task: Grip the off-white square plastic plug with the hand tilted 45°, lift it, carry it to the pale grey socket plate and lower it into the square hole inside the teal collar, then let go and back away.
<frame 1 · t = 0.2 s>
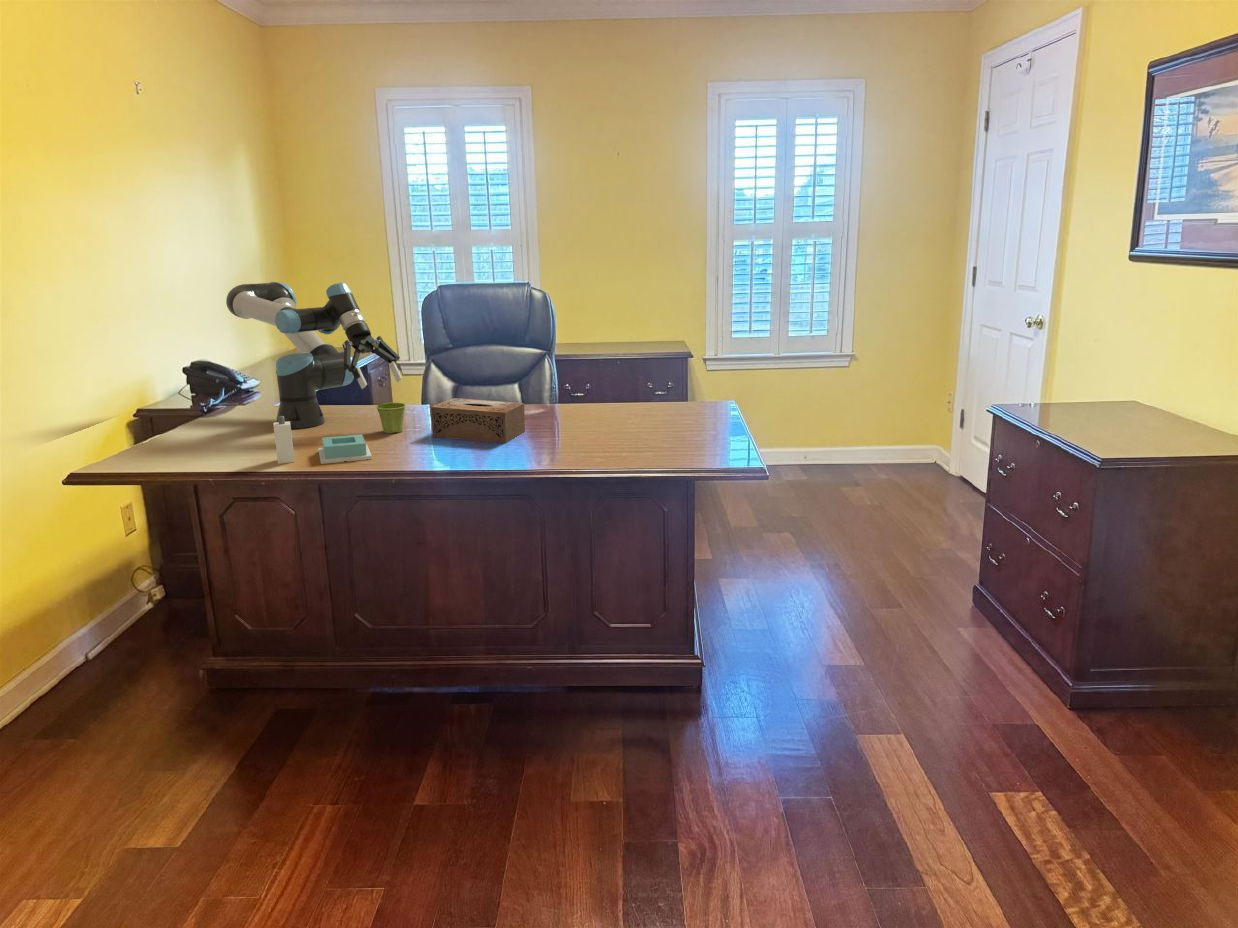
hand: (382, 383, 270), 15 cm above the table, tool tilted 35°, fingers open, 13 cm apart
socket: (344, 455, 243), on the table
plant pot: (393, 432, 271), on the table
plug: (286, 460, 237), on the table
tissue box cover: (479, 435, 268), on the table
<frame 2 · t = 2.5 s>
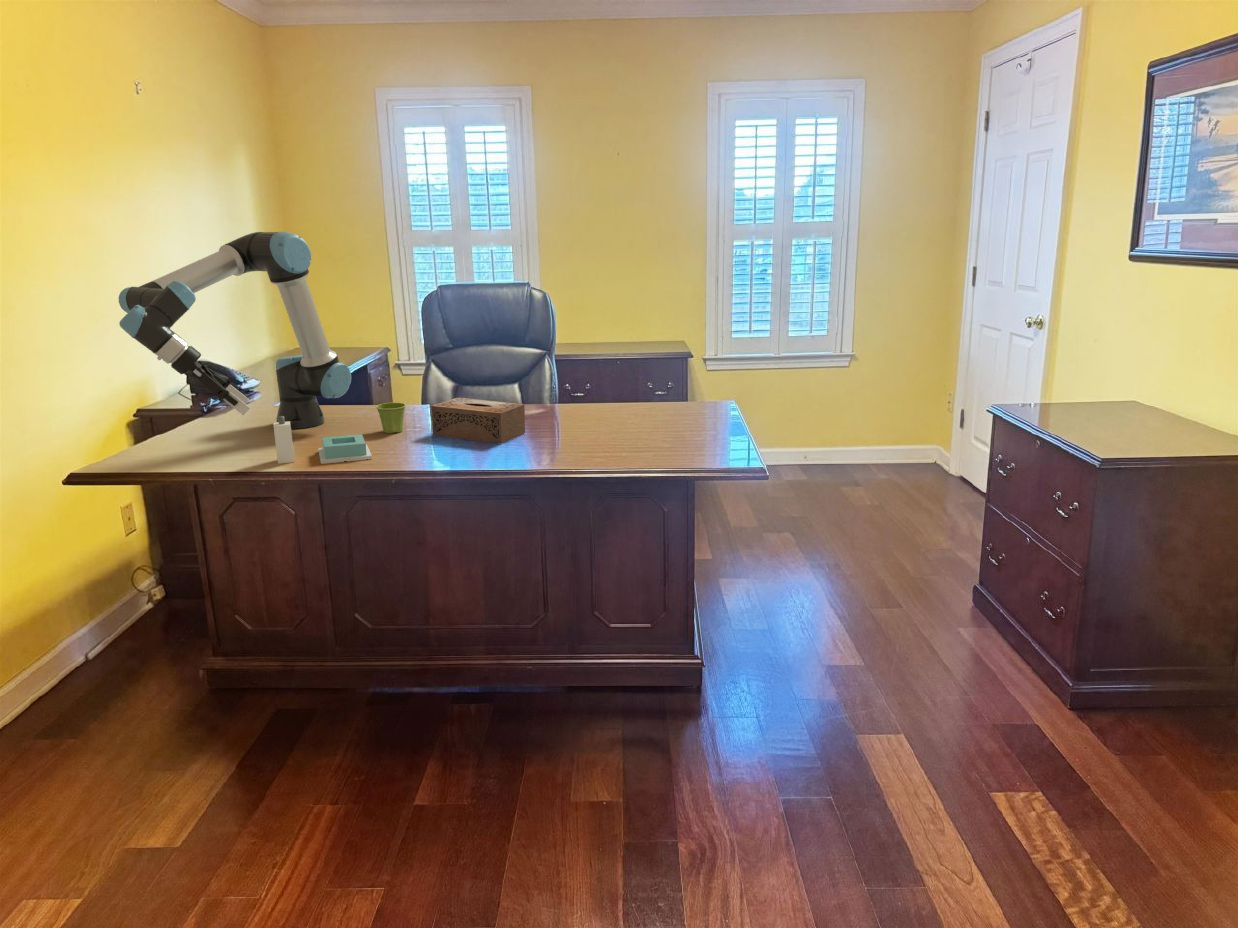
hand: (246, 407, 230), 16 cm above the table, tool tilted 45°, fingers open, 13 cm apart
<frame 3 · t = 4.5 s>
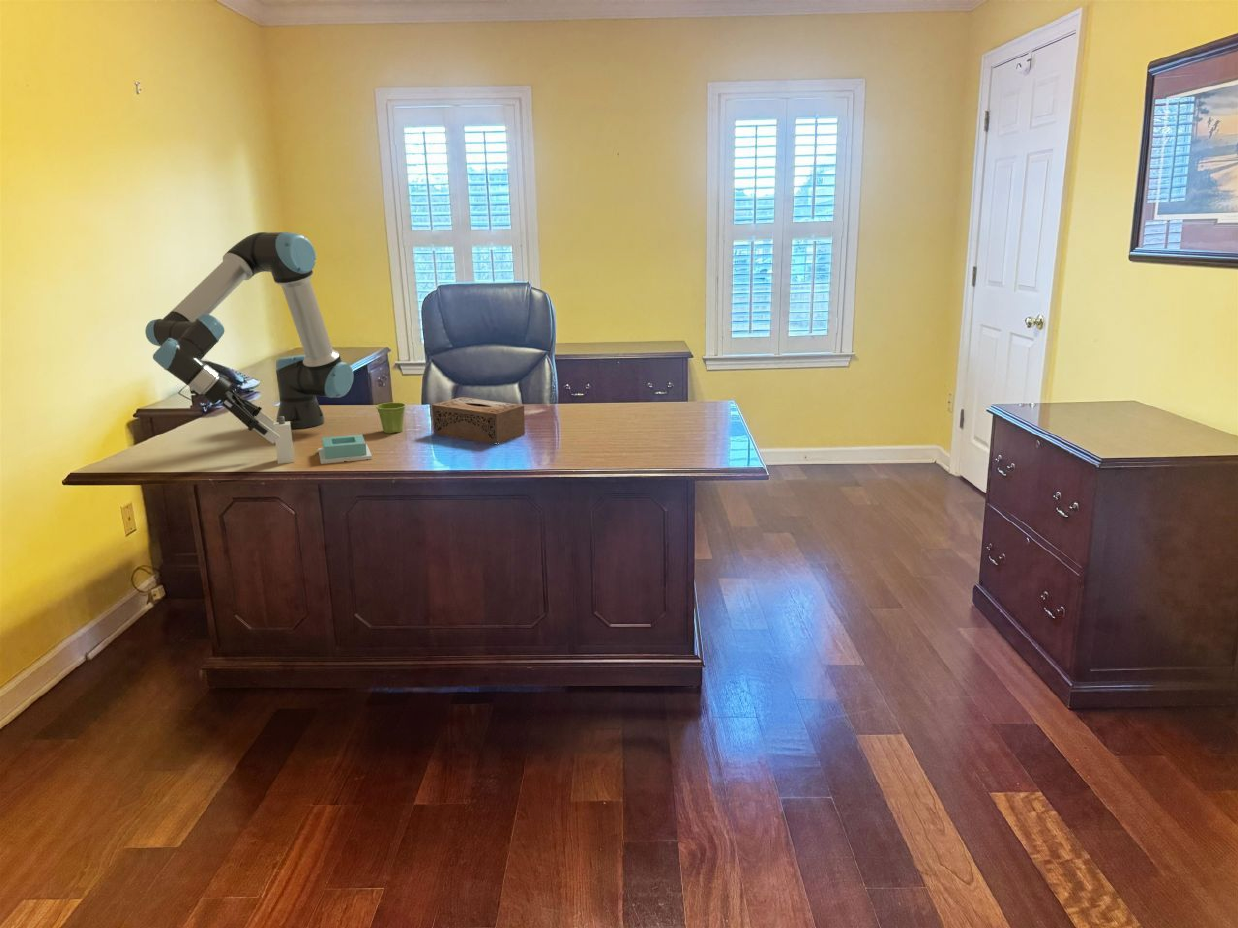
hand: (276, 434, 234), 8 cm above the table, tool tilted 45°, fingers open, 13 cm apart
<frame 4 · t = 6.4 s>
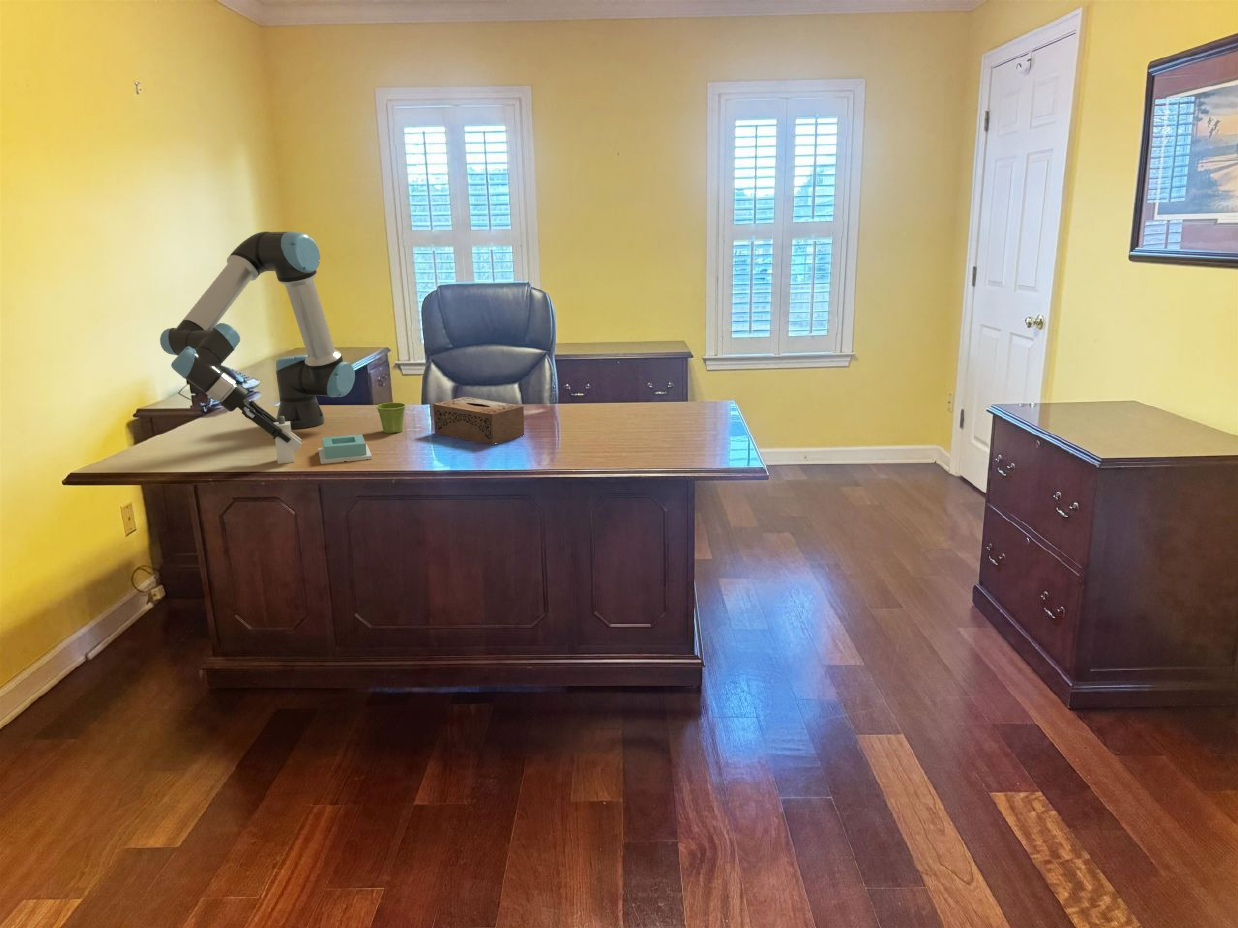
hand: (298, 445, 238), 4 cm above the table, tool tilted 45°, fingers closed on plug, 4 cm apart
plug: (286, 460, 237), on the table, touching gripper
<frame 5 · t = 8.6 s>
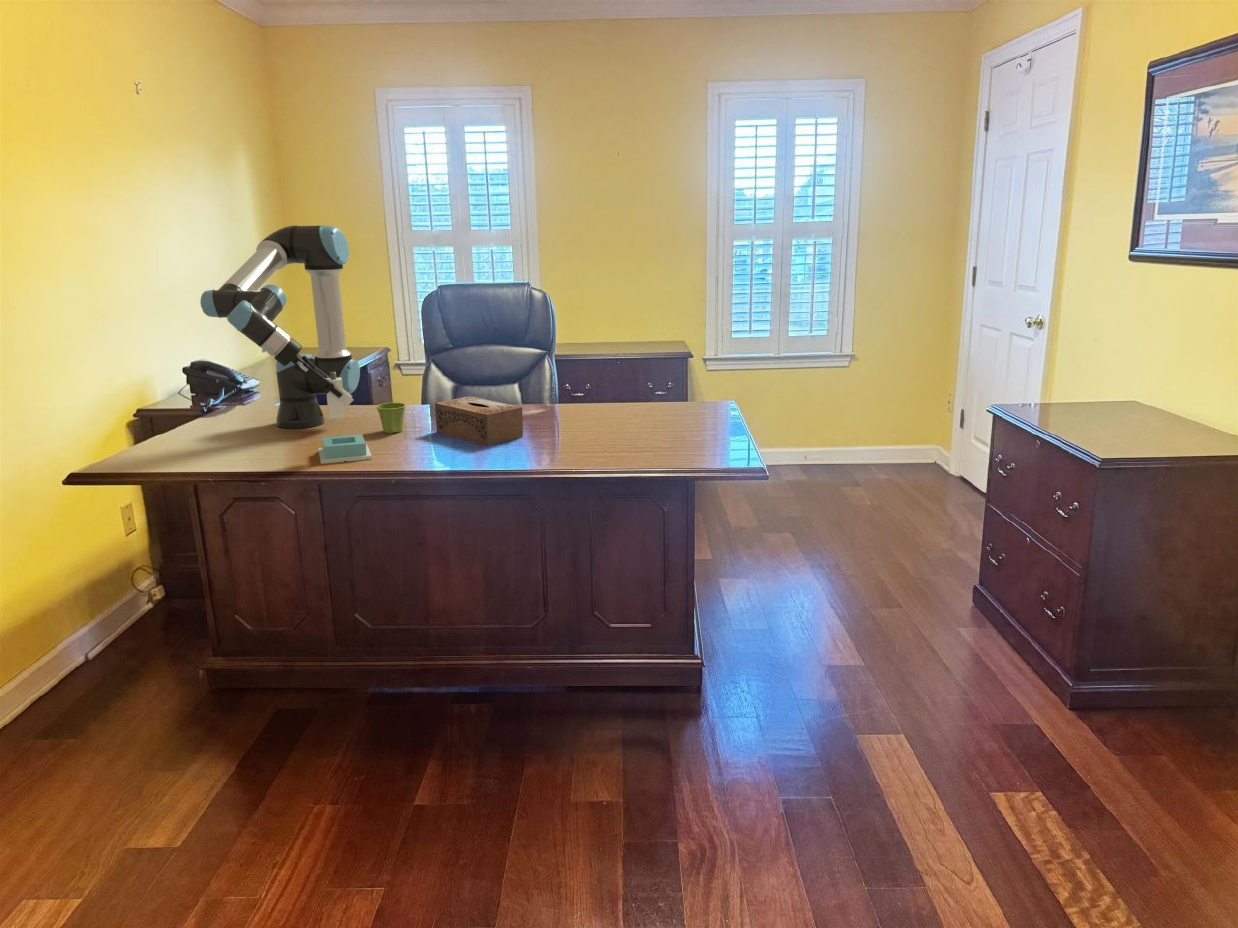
hand: (349, 401, 239), 16 cm above the table, tool tilted 45°, fingers closed on plug, 4 cm apart
plug: (337, 416, 239), point 12 cm above the table, touching gripper
when the fingers open (7 cm above the table, at t = 11.1 s): plug drops 2 cm, resting on socket.
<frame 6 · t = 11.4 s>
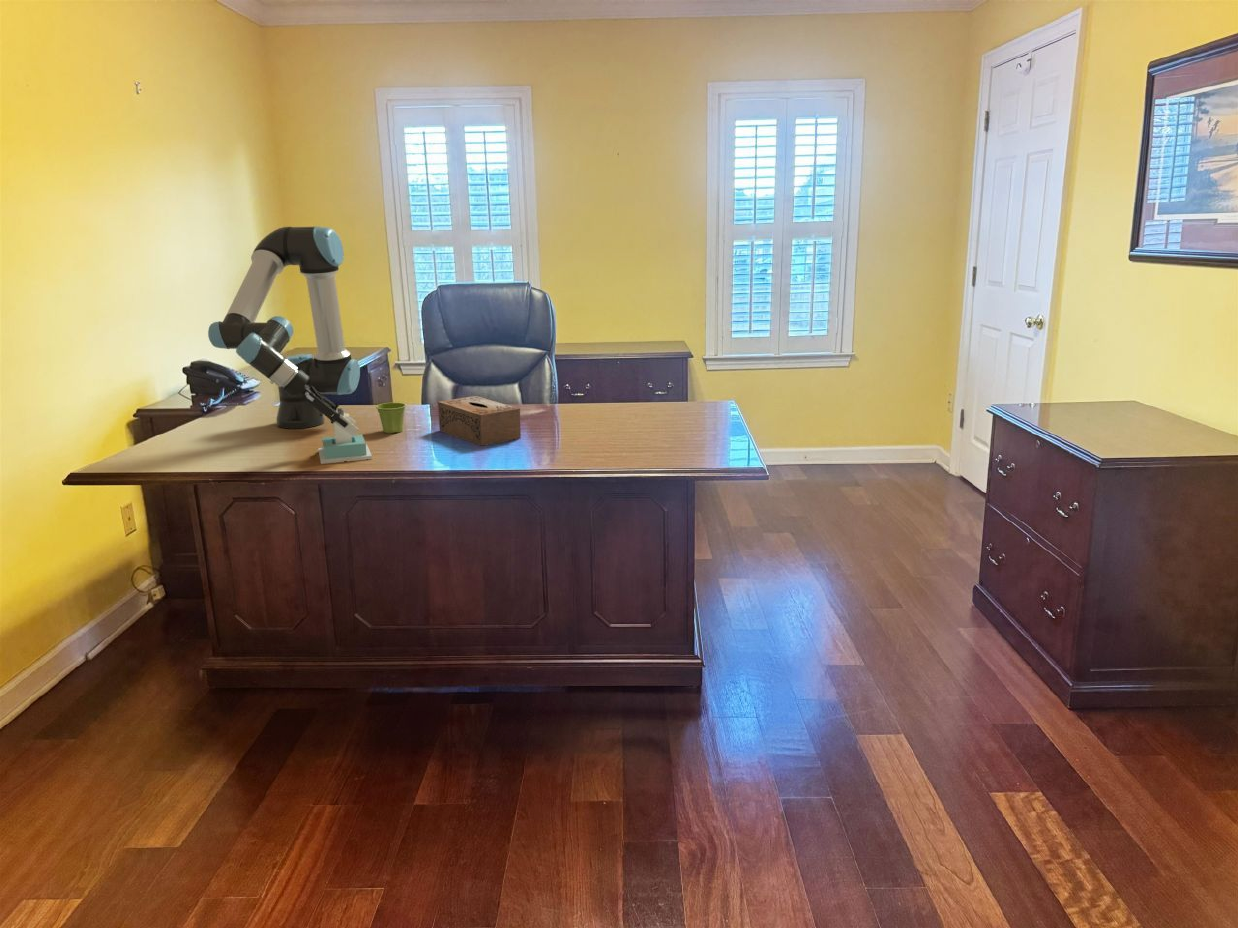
hand: (354, 428, 242), 8 cm above the table, tool tilted 45°, fingers open, 9 cm apart
plug: (344, 452, 243), point 1 cm above the table, touching socket
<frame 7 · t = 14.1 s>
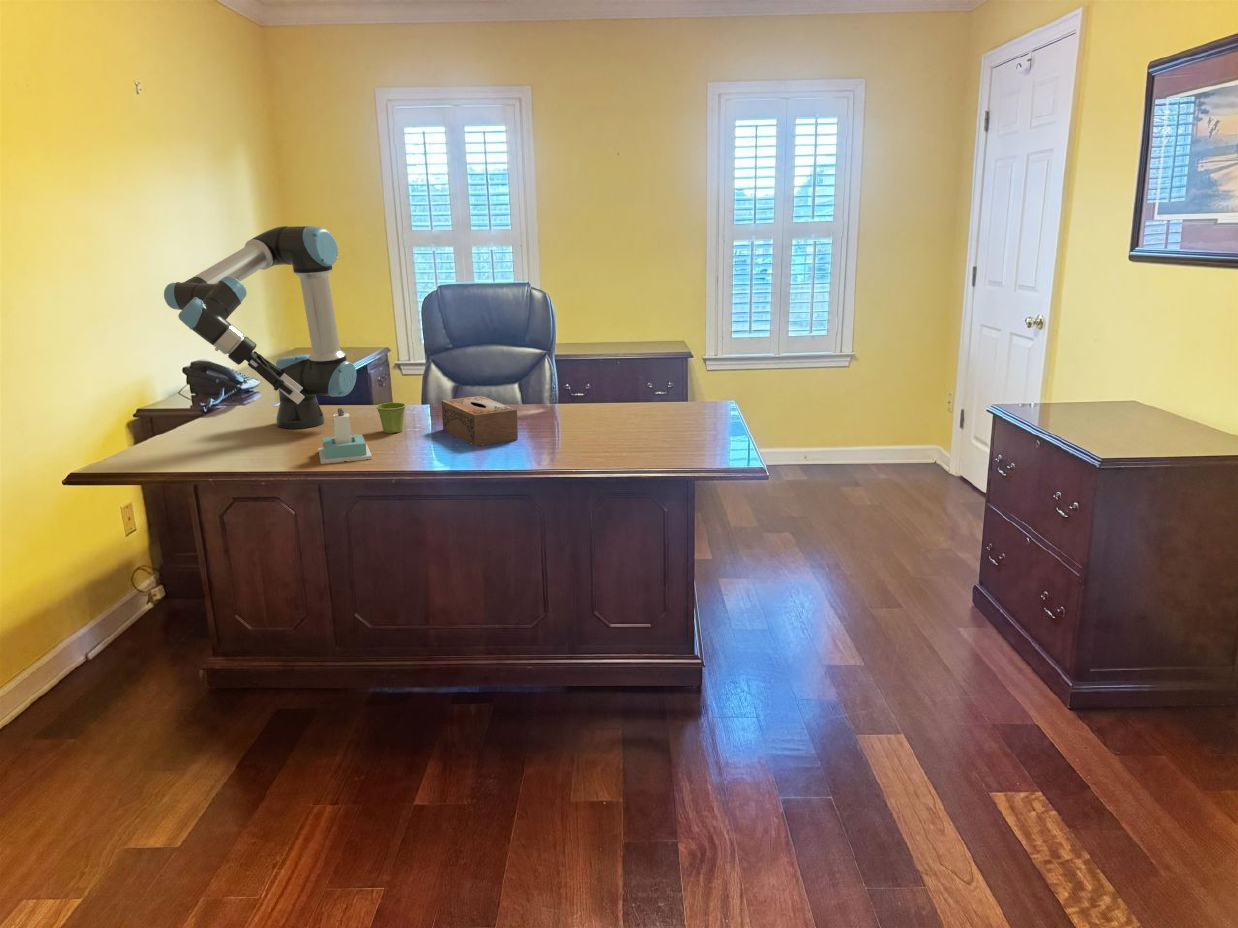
hand: (300, 396, 234), 19 cm above the table, tool tilted 45°, fingers open, 13 cm apart
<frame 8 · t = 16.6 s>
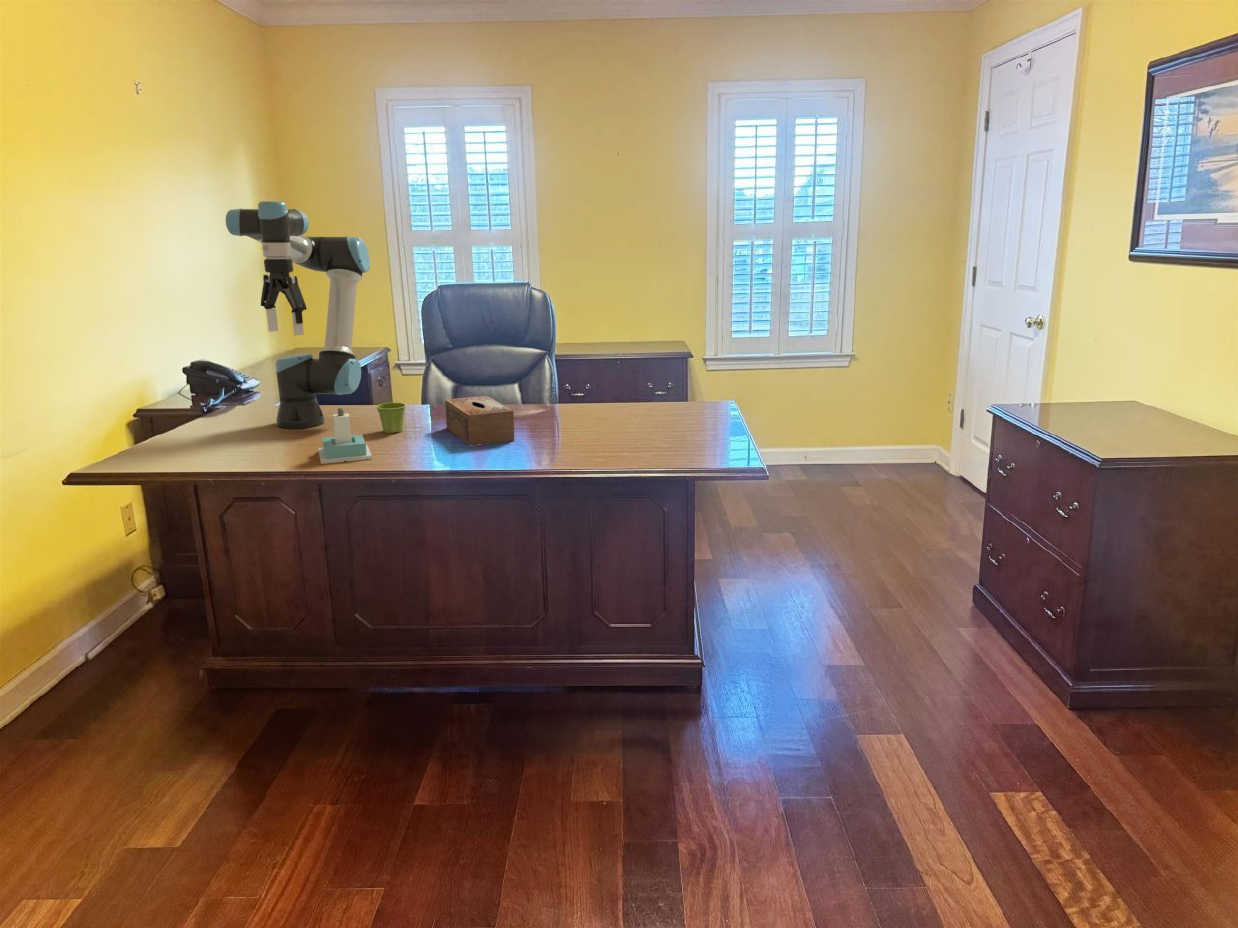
hand: (286, 333, 241), 35 cm above the table, tool pointing down, fingers open, 13 cm apart
at the end: plug 0.1 cm off-centre on the socket, point 1.0 cm above the socket's base; plug tilted 0°; the gripper is holding nothing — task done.
